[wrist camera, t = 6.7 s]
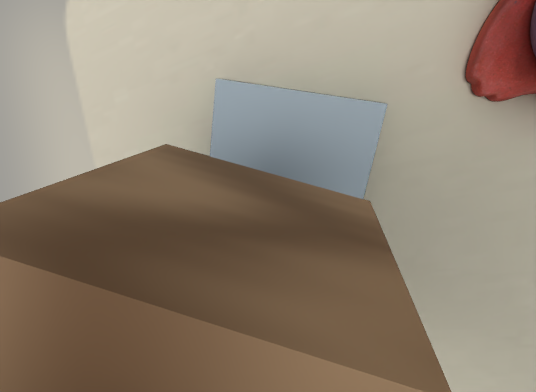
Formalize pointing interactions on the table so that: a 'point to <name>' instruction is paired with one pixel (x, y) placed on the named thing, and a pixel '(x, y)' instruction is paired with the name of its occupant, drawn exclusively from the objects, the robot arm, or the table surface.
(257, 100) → the base board
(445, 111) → the table surface
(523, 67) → the stacking bear
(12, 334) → the long brick
